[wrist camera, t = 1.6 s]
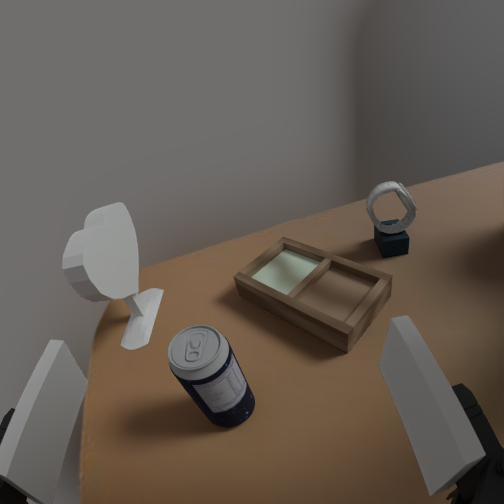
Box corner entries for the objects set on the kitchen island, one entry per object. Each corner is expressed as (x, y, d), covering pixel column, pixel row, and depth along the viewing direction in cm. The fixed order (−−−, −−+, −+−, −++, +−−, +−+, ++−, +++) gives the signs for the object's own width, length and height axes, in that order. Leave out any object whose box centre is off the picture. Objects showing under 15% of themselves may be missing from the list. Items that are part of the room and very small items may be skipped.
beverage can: (256, 385, 35) (227, 317, 28) (256, 428, 30) (224, 370, 23) (209, 389, 35) (169, 324, 29) (205, 431, 31) (157, 375, 24)
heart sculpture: (141, 286, 55) (97, 199, 45) (166, 282, 55) (124, 191, 44) (116, 355, 43) (50, 260, 32) (145, 354, 42) (79, 252, 32)
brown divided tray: (287, 255, 53) (283, 236, 51) (390, 296, 41) (392, 275, 38) (239, 295, 48) (233, 276, 46) (347, 353, 35) (347, 334, 33)
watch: (418, 252, 46) (423, 189, 40) (372, 259, 47) (371, 196, 41) (407, 232, 51) (409, 174, 44) (364, 239, 52) (361, 180, 46)
